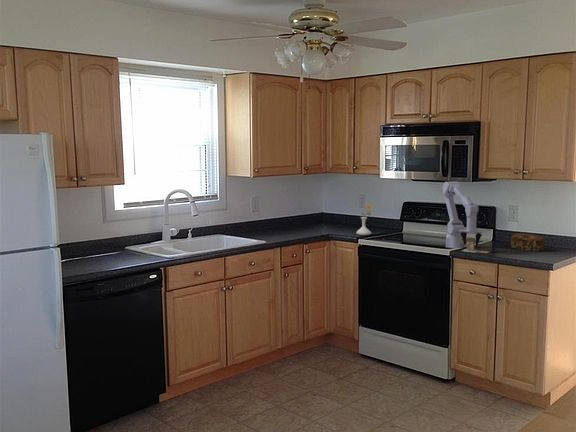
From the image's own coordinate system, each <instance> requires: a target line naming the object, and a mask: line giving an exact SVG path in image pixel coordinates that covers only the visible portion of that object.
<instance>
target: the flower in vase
mask: <svg viewBox="0 0 576 432" xmlns="http://www.w3.org/2000/svg"><path fill="white" fill-rule="evenodd" d="M364 208H365V210H366V212H365V213H362V212H361V215H362V216H360V219H361V223H362V224H361V225H362V226H361V227H360V228H359V229H358V230H357V231H356V235H358V236H369V235H371V234H372V232H371V230H369V228H367V226H366V221H367V218H368V217H367V216H371V215H372V214H371V212H373V211H374V207H373V204H371V203H370V202H366V203H365V204H364ZM366 215H367V216H366Z"/></svg>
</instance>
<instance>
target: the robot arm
mask: <svg viewBox="0 0 576 432" xmlns="http://www.w3.org/2000/svg"><path fill="white" fill-rule="evenodd" d="M442 184H443V185H442V192H443V195H444V200H445V205H446V208H447V213H448V216H449V221H448V223H447V232H448V233H447V234H446V236H445V248H450V249H461V248H463V246H462V242H463V245H467V235H468V234H475V246H479V243H480V239H481V238H482V236H483V235H484V231H483V230H477V214H478V213H479V211H480V209H479V205H478V204H477V203H474V202H473V201H472V199H471V198H470V196H468V195H467V196H466V195H465V193H464V192H463V190H462V189H461V184H460V182H459V181H445V182H444V183H442ZM455 195H456V196H457V197H459V199H460V203H461V204H462V206H463V207H464V208H465V209H464V211H465V214H466V215H465V216H466V228H465V225H464V223H463V221H462V220H460V219H459V216H458V211H457V208H456V203H455V199H454V197H455Z"/></svg>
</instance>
